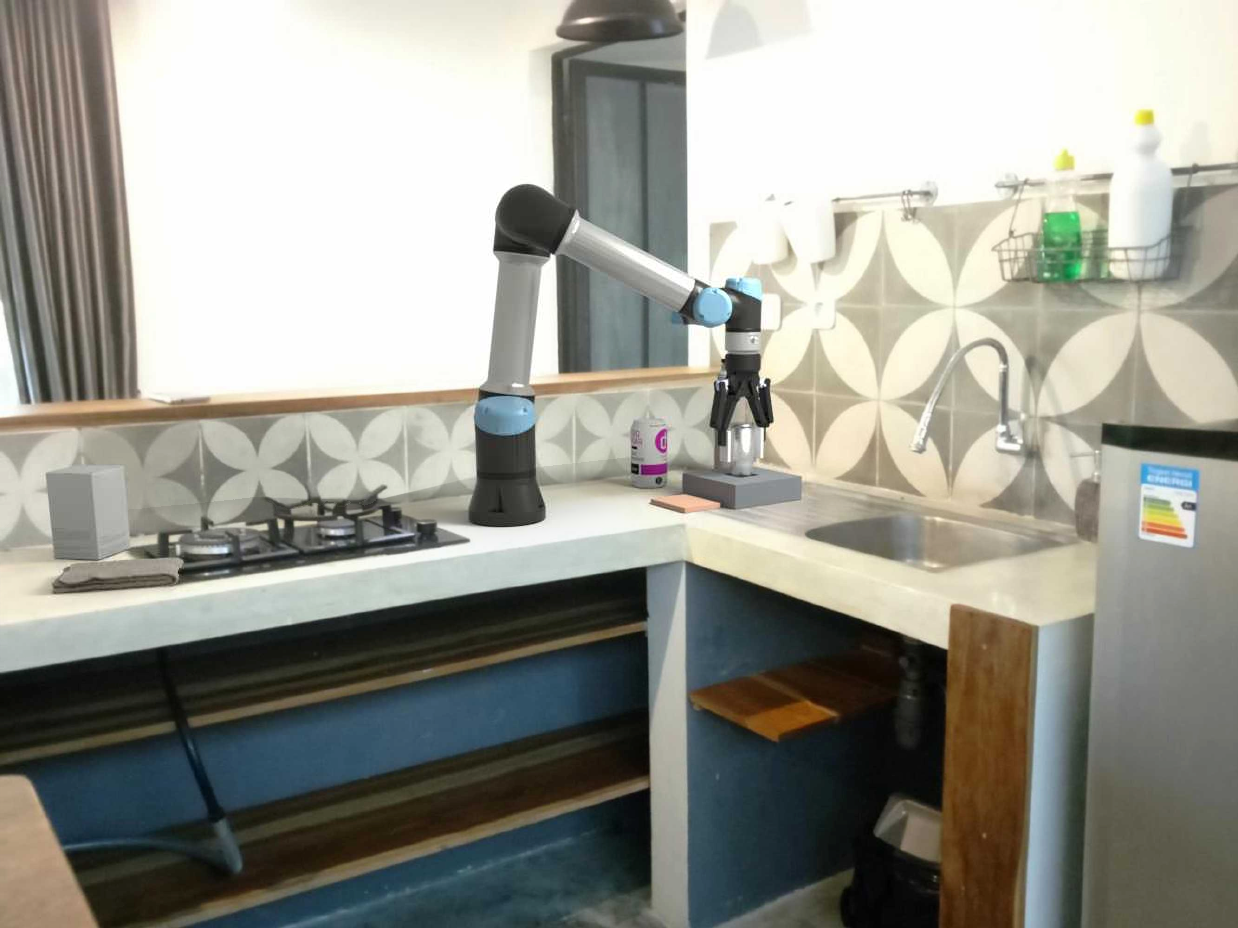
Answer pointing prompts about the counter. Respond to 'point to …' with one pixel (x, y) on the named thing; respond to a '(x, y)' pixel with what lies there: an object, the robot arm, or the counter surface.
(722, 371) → the thermos bottle
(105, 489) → the supplement box
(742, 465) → the shiny metal cylinder
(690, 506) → the pad
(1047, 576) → the counter surface
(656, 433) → the supplement can
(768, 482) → the block
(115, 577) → the washcloth
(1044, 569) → the counter surface
